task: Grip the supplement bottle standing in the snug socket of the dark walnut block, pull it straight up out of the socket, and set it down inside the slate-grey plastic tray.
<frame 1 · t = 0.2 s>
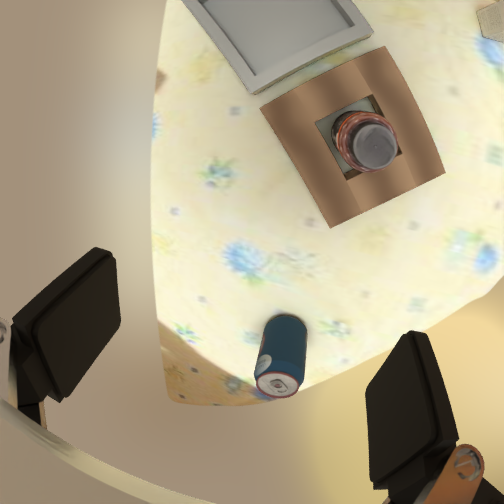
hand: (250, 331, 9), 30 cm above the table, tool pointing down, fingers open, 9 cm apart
tray: (276, 12, 27), on the table
socket block: (355, 134, 32), on the table
soda can: (286, 327, 48), on the table
skincare box: (493, 28, 20), on the table
supplement bottle: (355, 134, 33), resting in socket block
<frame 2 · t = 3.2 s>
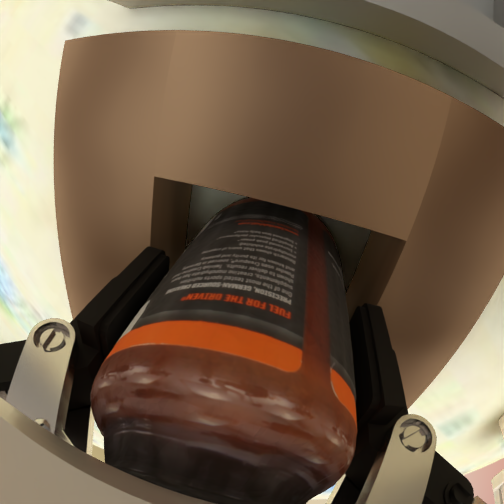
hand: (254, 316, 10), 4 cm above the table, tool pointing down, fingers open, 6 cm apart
socket block: (268, 260, 13), on the table
supplement bottle: (269, 258, 13), resting in socket block
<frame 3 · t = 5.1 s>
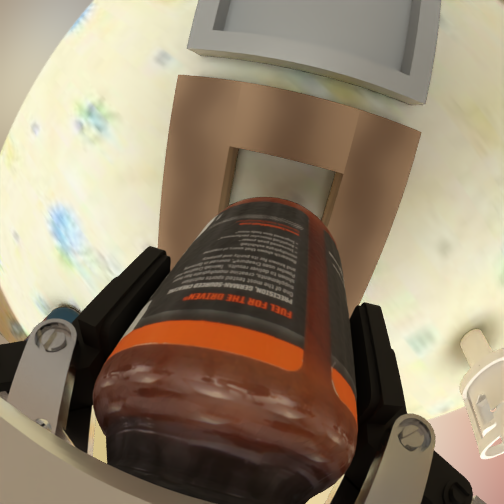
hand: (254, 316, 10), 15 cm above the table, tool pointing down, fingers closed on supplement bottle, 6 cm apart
white cylindrical cage holder: (470, 338, 26), on the table
socket block: (278, 198, 23), on the table
soda can: (76, 323, 34), on the table
supplement bottle: (269, 258, 13), point 11 cm above the table, touching gripper
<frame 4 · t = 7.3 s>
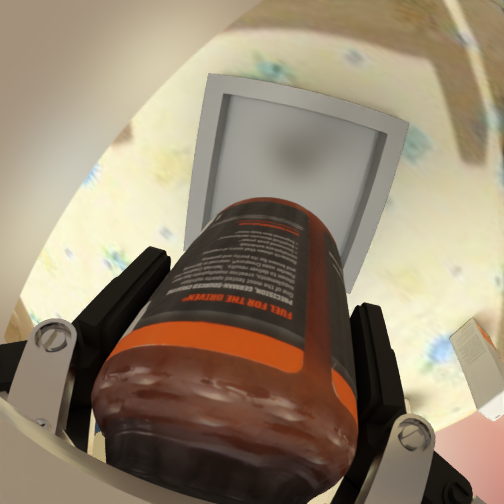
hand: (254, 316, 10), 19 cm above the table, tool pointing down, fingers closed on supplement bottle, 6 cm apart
tray: (290, 180, 26), on the table
skincare box: (469, 335, 30), on the table
supplement bottle: (269, 258, 13), point 15 cm above the table, touching gripper
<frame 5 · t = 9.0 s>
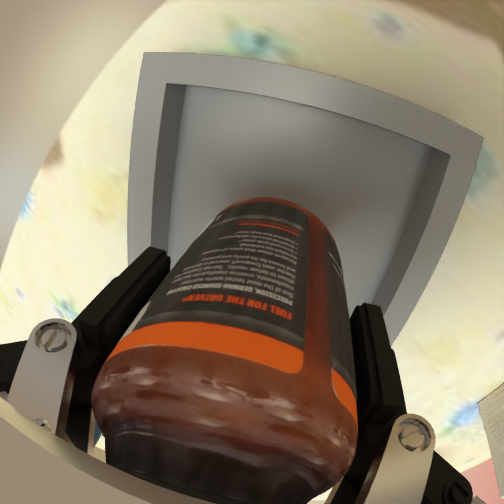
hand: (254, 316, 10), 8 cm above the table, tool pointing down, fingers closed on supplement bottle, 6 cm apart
tray: (284, 222, 17), on the table
skincare box: (499, 397, 21), on the table
supplement bottle: (269, 258, 13), point 4 cm above the table, touching gripper
when the fingers open (5 cm above the table, at t = 10.5 s): supplement bottle drops 1 cm, resting on tray.
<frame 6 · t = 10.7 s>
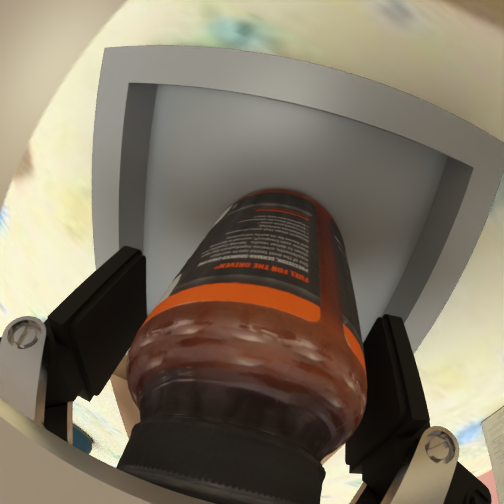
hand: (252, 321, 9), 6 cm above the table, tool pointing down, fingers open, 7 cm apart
tray: (273, 243, 14), on the table
socket block: (224, 425, 23), on the table
soda can: (77, 430, 35), on the table
skincare box: (503, 415, 18), on the table
supplement bottle: (278, 246, 14), resting on tray
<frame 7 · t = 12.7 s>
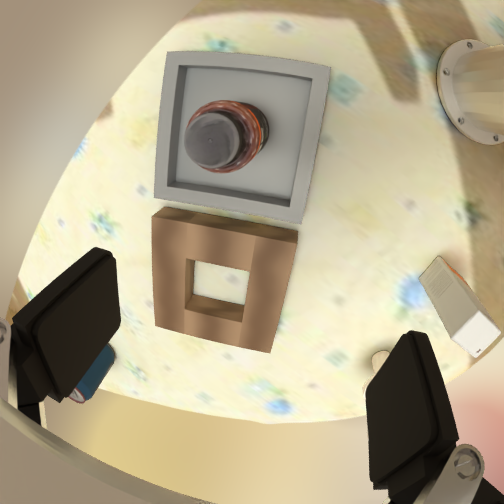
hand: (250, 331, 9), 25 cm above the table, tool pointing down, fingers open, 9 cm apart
tray: (239, 130, 30), on the table
white cylindrical cage holder: (381, 356, 40), on the table
socket block: (221, 276, 38), on the table
soda can: (102, 347, 50), on the table
skincare box: (440, 276, 33), on the table
supplement bottle: (241, 130, 29), resting on tray
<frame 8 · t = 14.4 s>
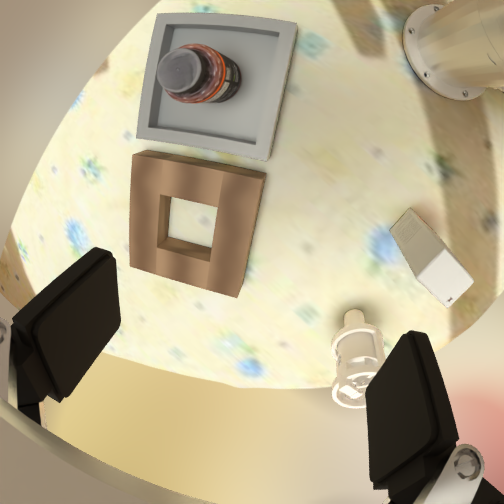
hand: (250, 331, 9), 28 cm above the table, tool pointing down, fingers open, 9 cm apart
tray: (216, 80, 31), on the table
white cylindrical cage holder: (353, 316, 42), on the table
socket block: (194, 218, 39), on the table
skincare box: (413, 231, 35), on the table
supplement bottle: (217, 79, 30), resting on tray
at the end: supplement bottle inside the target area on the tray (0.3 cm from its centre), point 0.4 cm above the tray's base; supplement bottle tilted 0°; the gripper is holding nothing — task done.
